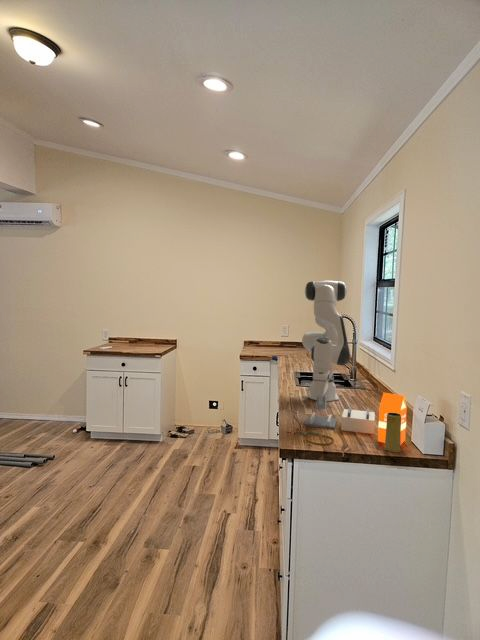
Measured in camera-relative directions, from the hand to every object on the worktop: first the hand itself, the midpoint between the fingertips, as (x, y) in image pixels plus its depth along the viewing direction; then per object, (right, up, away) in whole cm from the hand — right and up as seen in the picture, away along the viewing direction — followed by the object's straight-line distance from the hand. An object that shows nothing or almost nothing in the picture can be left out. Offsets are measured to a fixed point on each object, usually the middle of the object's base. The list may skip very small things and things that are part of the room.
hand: (321, 402), depth 196 cm
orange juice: (+25, -12, -22) cm, 35 cm away
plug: (0, -3, 0) cm, 3 cm away
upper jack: (+16, -11, -5) cm, 20 cm away
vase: (+22, -13, -32) cm, 40 cm away
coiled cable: (-6, -12, -21) cm, 25 cm away
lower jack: (0, -10, +1) cm, 10 cm away
